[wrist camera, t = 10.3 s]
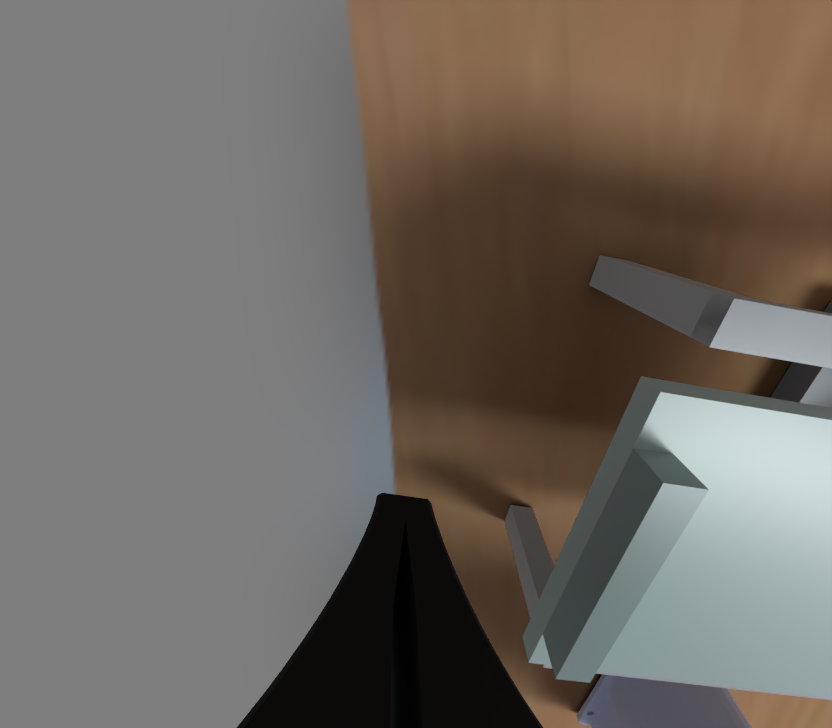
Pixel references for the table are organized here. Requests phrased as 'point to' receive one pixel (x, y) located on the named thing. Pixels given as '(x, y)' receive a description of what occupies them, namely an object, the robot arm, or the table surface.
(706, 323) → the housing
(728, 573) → the lid
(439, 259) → the table surface
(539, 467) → the table surface
